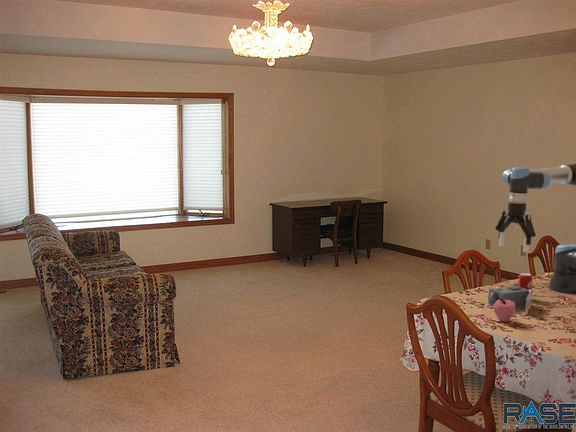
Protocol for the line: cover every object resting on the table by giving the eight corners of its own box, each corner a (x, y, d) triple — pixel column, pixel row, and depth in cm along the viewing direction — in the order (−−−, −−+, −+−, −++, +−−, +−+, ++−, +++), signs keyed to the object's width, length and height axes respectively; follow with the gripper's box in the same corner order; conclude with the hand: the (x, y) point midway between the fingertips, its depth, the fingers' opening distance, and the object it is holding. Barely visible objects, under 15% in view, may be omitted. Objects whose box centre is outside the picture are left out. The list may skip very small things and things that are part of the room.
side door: (528, 304, 285) (529, 289, 284) (532, 305, 284) (534, 290, 283) (524, 314, 271) (525, 298, 270) (529, 314, 270) (530, 299, 269)
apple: (511, 325, 256) (513, 302, 254) (490, 321, 260) (491, 298, 259) (516, 319, 264) (518, 296, 262) (495, 315, 268) (497, 293, 267)
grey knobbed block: (514, 299, 294) (516, 283, 293) (528, 305, 286) (530, 288, 284) (484, 303, 287) (485, 287, 285) (498, 309, 278) (499, 292, 277)
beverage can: (531, 300, 293) (533, 276, 291) (517, 299, 294) (519, 275, 292) (529, 297, 299) (531, 273, 297) (515, 296, 300) (517, 272, 298)
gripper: (489, 199, 284) (486, 244, 287) (535, 206, 263) (530, 254, 266) (501, 198, 288) (497, 243, 291) (547, 205, 267) (542, 253, 270)
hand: (513, 249), depth 278 cm, fingers open, 13 cm apart
